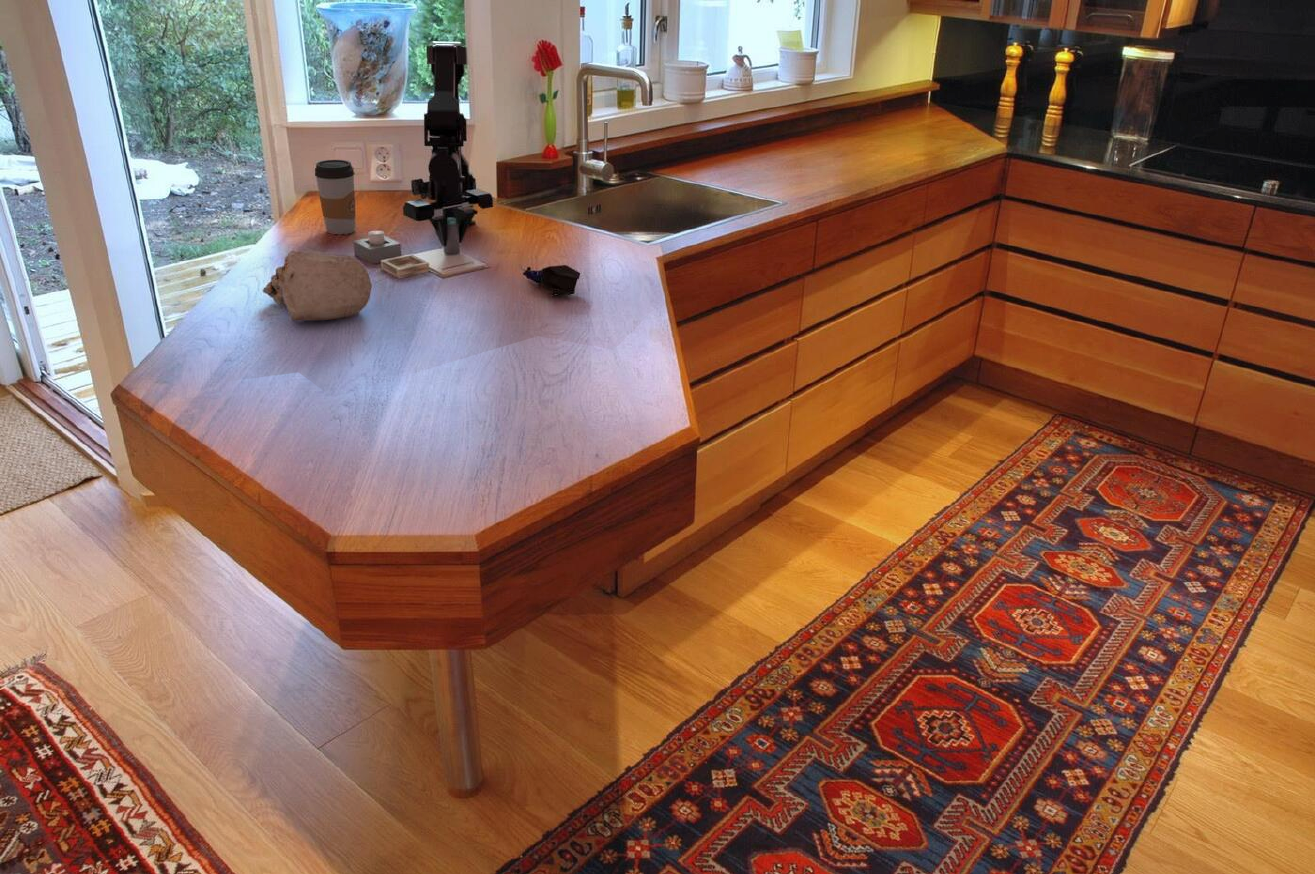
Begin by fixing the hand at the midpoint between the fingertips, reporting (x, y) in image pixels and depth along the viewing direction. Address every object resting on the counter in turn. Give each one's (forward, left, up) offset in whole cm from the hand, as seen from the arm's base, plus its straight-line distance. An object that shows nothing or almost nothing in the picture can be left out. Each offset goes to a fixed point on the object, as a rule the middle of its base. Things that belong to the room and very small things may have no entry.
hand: (451, 244), depth 213 cm
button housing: (+12, -9, -2) cm, 16 cm away
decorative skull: (+36, +12, -3) cm, 38 cm away
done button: (+12, -9, 0) cm, 15 cm away
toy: (-5, +28, -3) cm, 29 cm away
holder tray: (+12, +2, -2) cm, 13 cm away
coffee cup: (+10, -29, -3) cm, 31 cm away
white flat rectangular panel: (+3, +3, -2) cm, 5 cm away
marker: (0, 0, -2) cm, 2 cm away
